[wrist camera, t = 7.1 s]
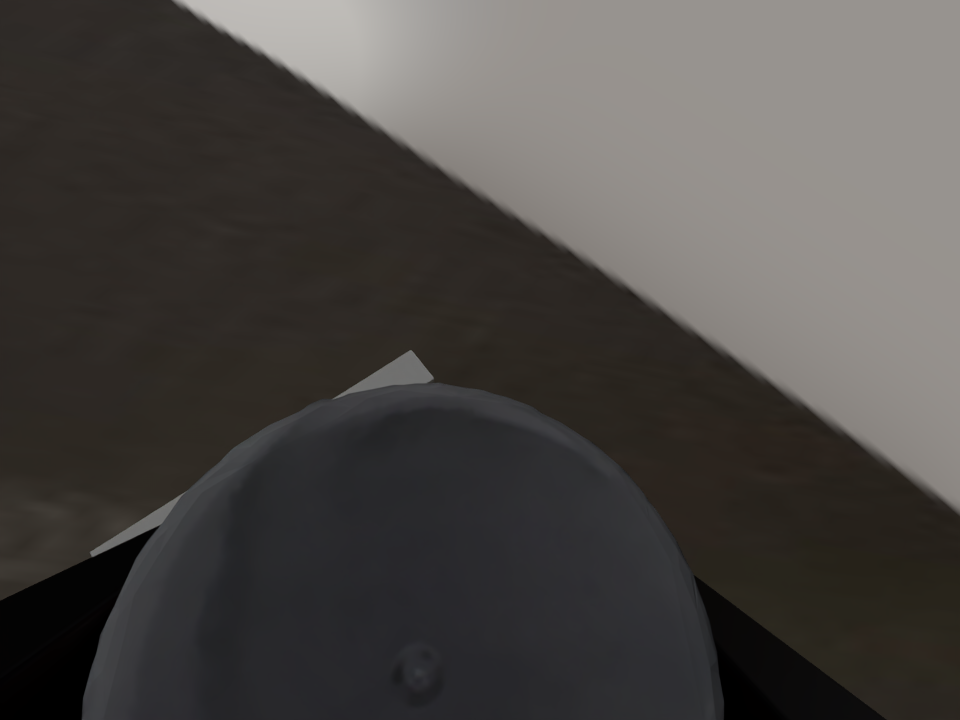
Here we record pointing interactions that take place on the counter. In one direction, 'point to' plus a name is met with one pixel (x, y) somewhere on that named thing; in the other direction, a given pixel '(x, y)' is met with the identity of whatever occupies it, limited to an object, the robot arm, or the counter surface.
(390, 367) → the grey rectangular bar
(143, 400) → the counter surface
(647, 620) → the supplement bottle
